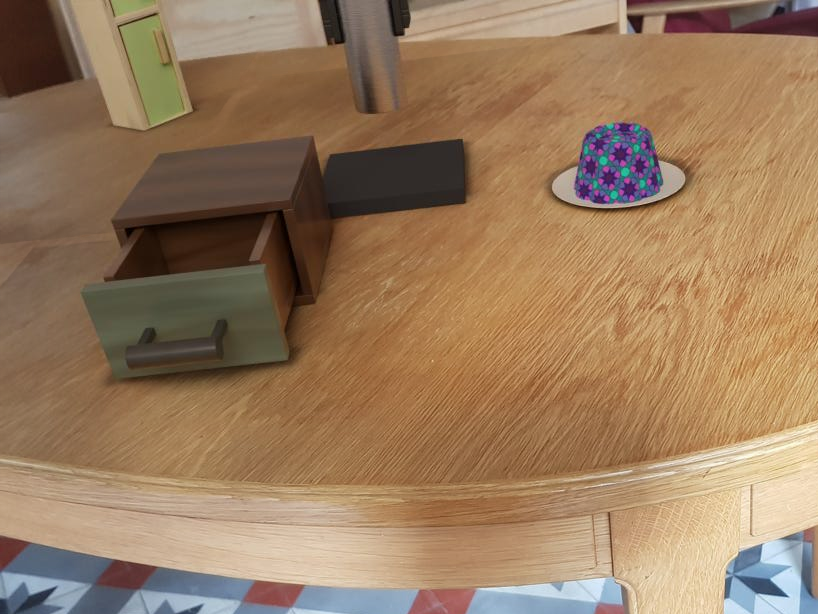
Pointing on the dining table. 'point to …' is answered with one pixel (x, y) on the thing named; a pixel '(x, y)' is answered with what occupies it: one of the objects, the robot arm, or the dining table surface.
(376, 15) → the brushed steel cylinder
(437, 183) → the black rectangular block
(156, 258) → the drawer
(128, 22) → the toy refrigerator
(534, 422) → the dining table surface
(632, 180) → the pudding
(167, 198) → the cabinet
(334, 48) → the dining table surface
